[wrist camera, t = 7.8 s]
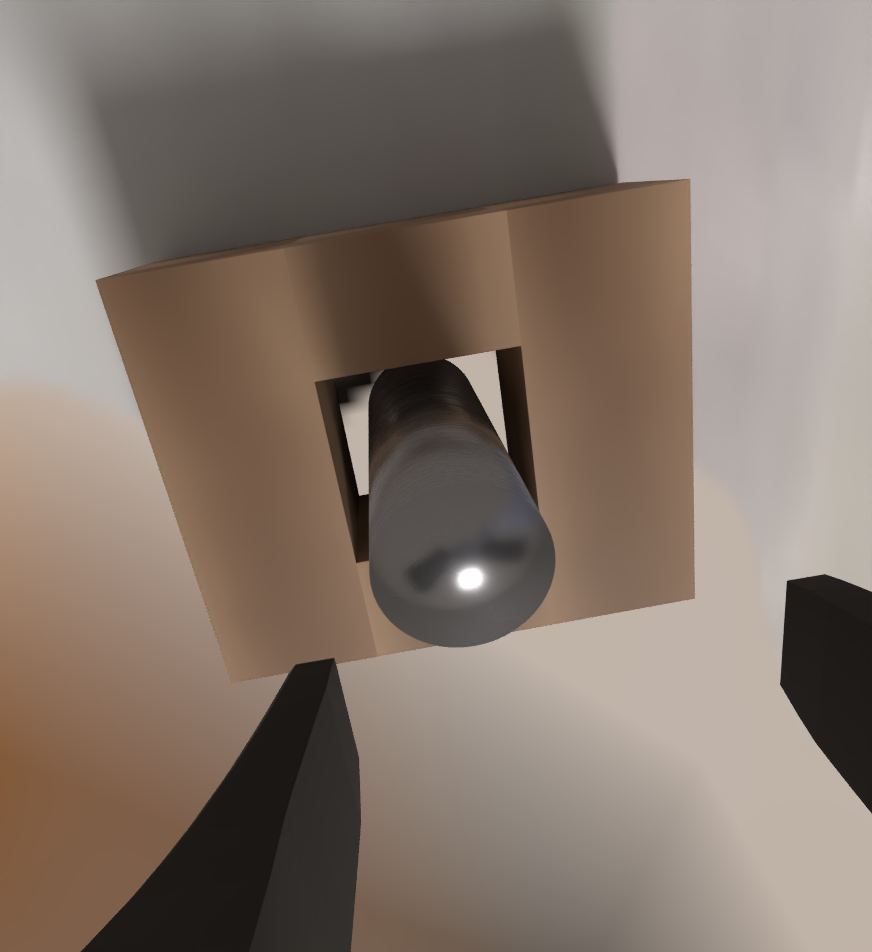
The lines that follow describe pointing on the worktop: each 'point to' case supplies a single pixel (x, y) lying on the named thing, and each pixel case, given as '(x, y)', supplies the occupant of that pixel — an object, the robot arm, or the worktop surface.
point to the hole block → (407, 343)
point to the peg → (449, 513)
